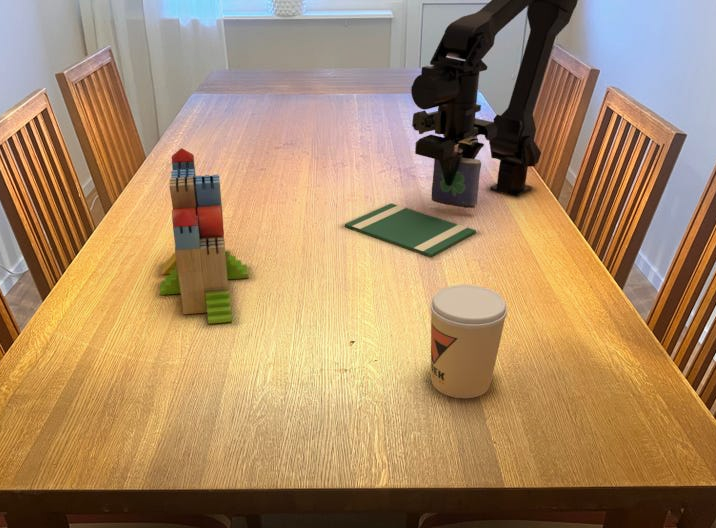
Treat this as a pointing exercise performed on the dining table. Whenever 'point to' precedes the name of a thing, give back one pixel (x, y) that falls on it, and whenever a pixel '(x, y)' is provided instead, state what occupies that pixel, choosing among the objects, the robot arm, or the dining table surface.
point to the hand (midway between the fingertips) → (453, 183)
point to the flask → (457, 184)
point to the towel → (411, 229)
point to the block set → (199, 244)
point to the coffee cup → (465, 339)
